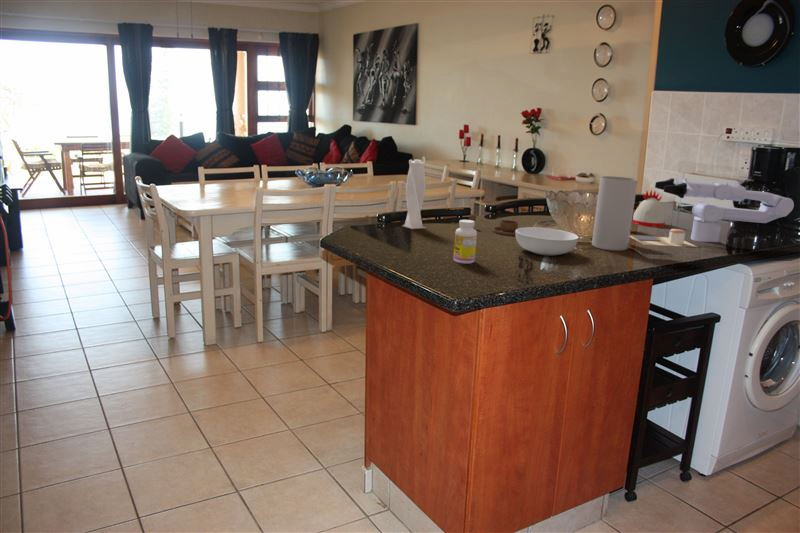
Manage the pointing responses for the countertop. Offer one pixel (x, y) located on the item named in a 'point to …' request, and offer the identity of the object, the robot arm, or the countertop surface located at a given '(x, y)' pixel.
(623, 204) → the cylinder vase
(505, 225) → the place setting
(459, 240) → the supplement bottle
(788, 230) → the countertop surface
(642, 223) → the white red spiked dome
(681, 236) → the brown egg in cup
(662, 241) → the board
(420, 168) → the skyscraper
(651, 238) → the pad
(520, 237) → the serving bowl
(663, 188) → the robot arm
